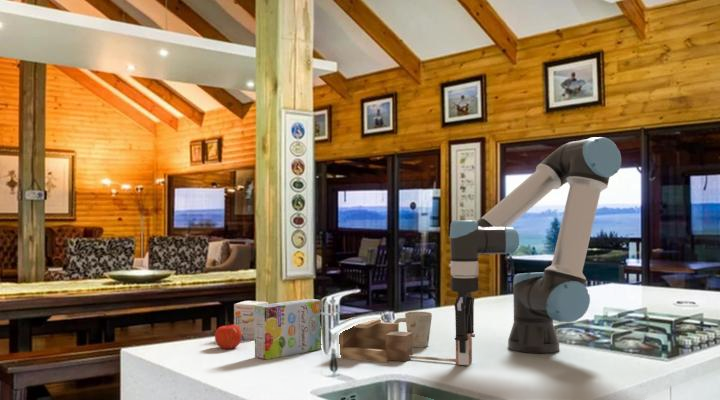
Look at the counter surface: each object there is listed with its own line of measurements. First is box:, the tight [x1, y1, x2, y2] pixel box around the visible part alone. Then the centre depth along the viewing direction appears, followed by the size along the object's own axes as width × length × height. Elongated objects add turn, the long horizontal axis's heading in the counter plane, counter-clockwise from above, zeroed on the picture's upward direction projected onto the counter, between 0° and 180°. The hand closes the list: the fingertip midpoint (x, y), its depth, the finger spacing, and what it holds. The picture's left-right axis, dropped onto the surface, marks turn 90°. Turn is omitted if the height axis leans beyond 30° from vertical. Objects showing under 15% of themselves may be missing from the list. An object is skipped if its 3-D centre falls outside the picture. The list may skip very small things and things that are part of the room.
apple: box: [214, 321, 242, 350], centre depth 197 cm, size 8×8×8 cm
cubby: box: [339, 316, 400, 363], centre depth 186 cm, size 14×11×10 cm
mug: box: [393, 311, 433, 348], centre depth 202 cm, size 8×13×10 cm, turn 78°
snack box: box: [254, 298, 323, 360], centre depth 190 cm, size 21×6×15 cm, turn 134°
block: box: [386, 331, 473, 366], centre depth 179 cm, size 23×6×8 cm, turn 68°
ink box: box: [233, 300, 269, 341], centre depth 215 cm, size 9×8×12 cm
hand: (465, 362), depth 175 cm, fingers closed on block, 3 cm apart
